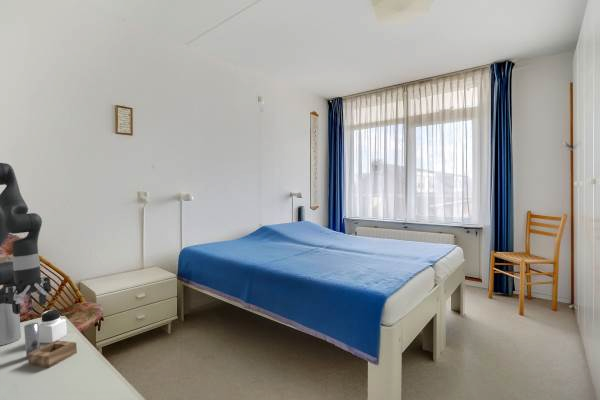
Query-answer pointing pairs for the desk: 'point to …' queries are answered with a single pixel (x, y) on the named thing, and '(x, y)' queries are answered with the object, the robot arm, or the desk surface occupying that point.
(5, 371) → the desk surface
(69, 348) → the bore block
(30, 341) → the peg
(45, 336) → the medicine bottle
